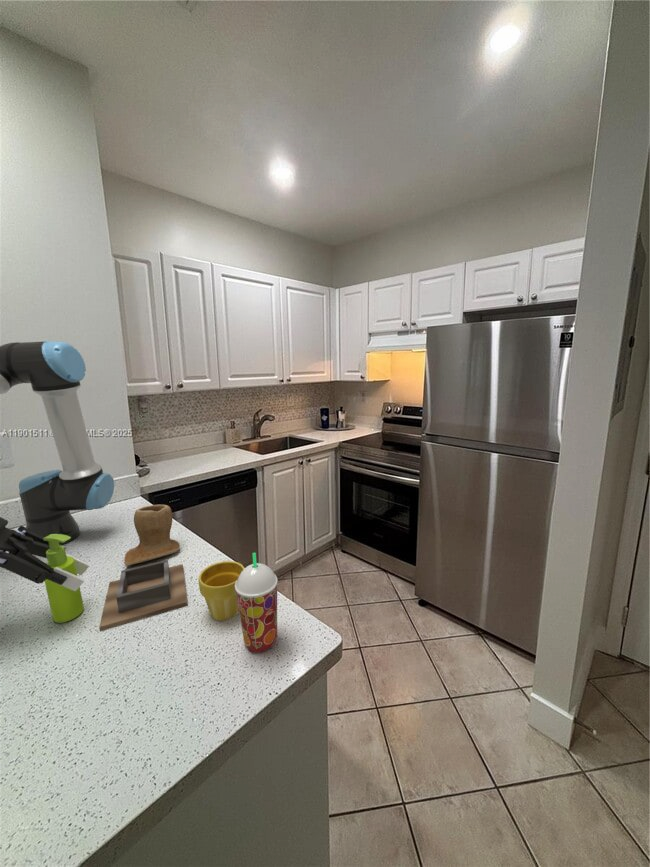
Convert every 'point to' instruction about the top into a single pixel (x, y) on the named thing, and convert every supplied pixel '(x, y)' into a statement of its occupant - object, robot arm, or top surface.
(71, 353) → the robot arm
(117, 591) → the dispenser stand
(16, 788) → the top surface
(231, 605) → the plant pot
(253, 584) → the smoothie
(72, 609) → the soap dispenser
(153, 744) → the top surface
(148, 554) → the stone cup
